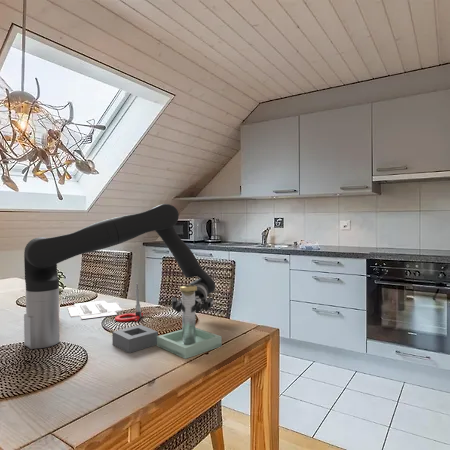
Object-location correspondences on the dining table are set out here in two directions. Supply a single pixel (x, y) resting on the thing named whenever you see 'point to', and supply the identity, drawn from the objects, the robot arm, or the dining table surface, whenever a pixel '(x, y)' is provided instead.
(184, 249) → the robot arm
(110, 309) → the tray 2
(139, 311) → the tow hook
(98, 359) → the dining table surface
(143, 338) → the socket block
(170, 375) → the dining table surface
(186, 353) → the tray
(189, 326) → the steel pin
